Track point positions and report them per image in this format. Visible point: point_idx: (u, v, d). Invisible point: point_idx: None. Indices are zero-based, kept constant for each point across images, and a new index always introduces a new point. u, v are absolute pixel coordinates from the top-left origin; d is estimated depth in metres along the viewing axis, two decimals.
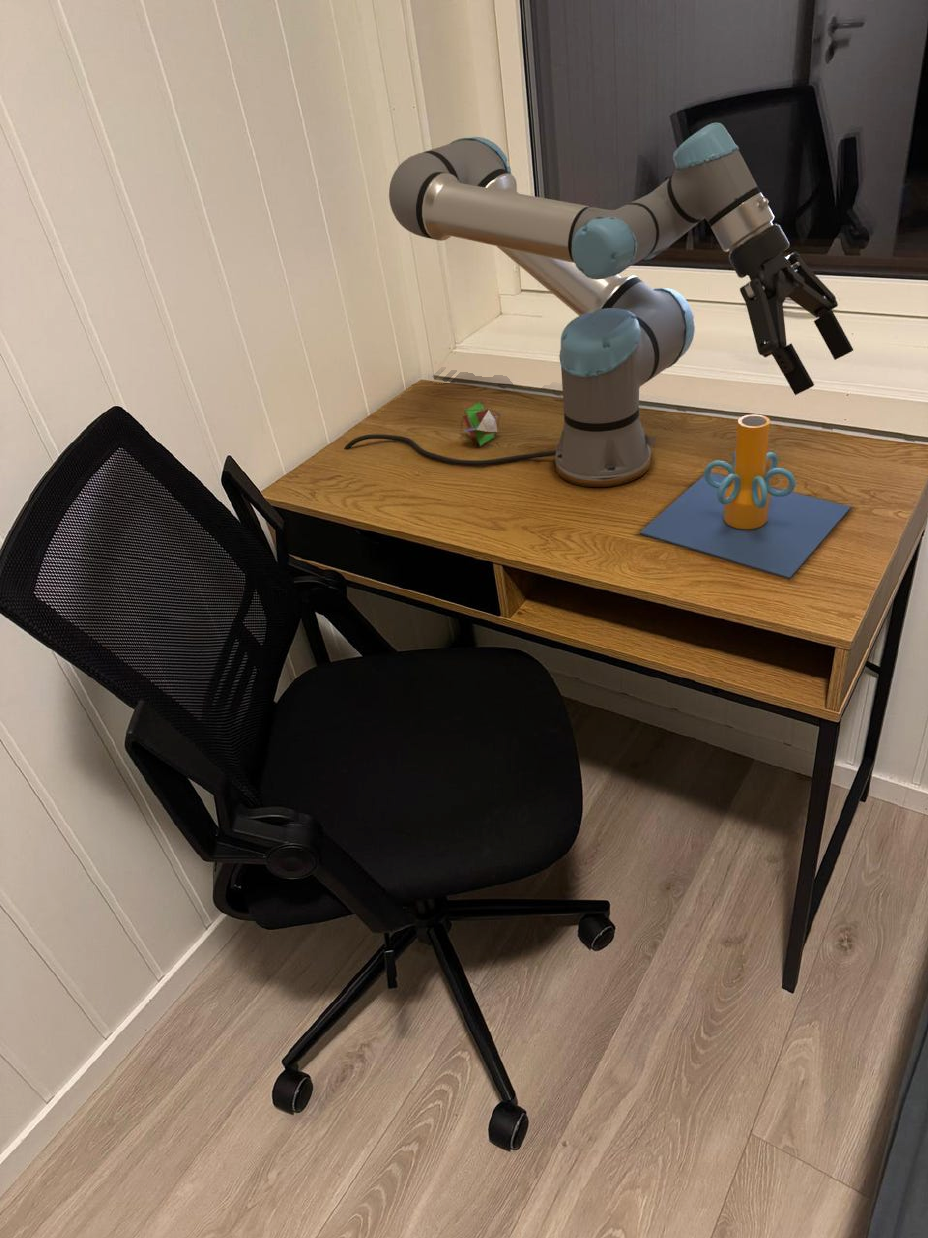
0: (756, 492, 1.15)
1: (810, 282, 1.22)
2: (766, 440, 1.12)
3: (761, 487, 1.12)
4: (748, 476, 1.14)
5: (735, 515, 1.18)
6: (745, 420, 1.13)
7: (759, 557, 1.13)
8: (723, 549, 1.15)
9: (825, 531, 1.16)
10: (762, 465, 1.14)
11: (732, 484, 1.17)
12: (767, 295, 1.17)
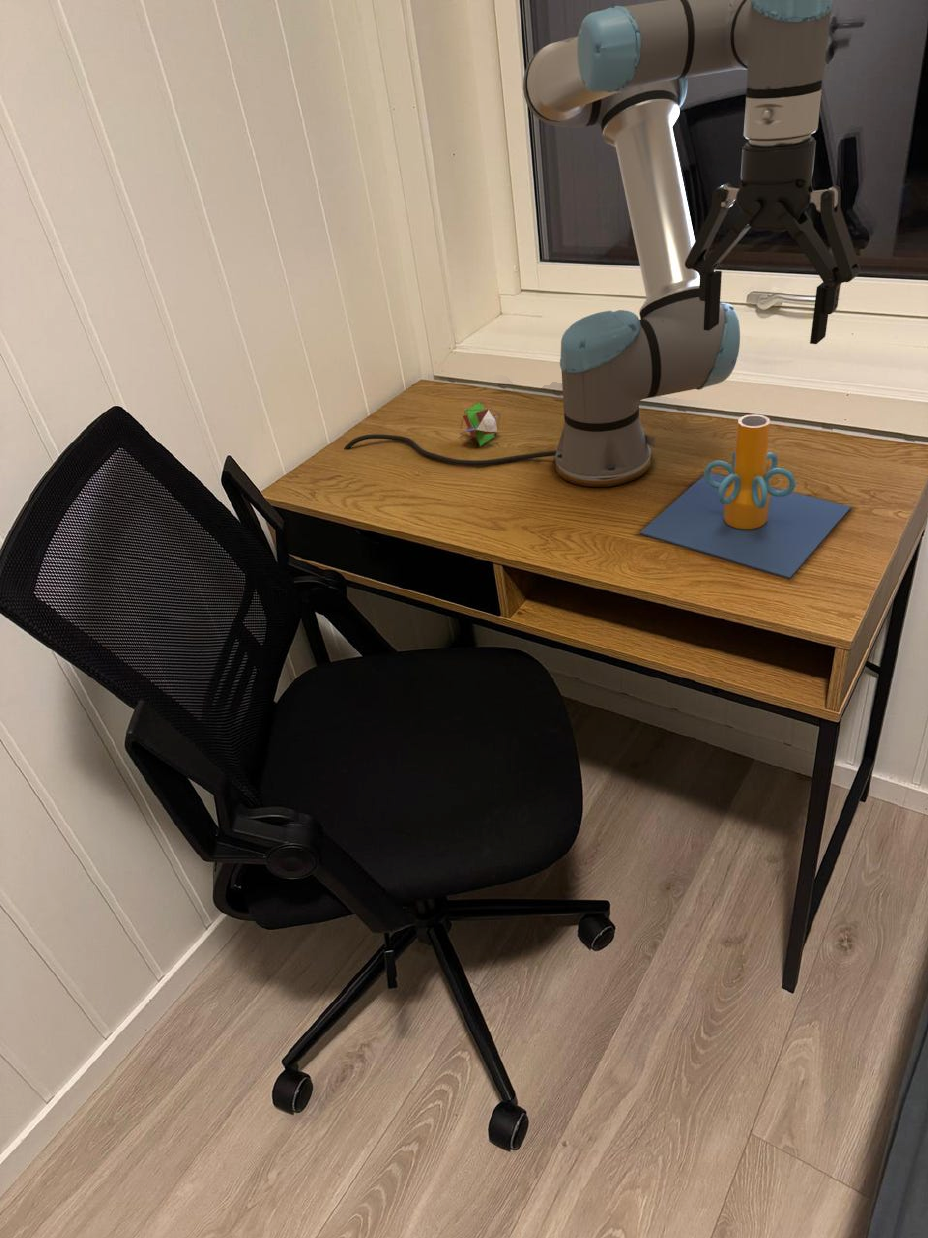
0: (756, 492, 1.15)
1: None
2: (766, 440, 1.12)
3: (761, 487, 1.12)
4: (748, 476, 1.14)
5: (735, 515, 1.18)
6: (745, 420, 1.13)
7: (759, 557, 1.13)
8: (723, 549, 1.15)
9: (825, 531, 1.16)
10: (762, 465, 1.14)
11: (732, 484, 1.17)
12: None
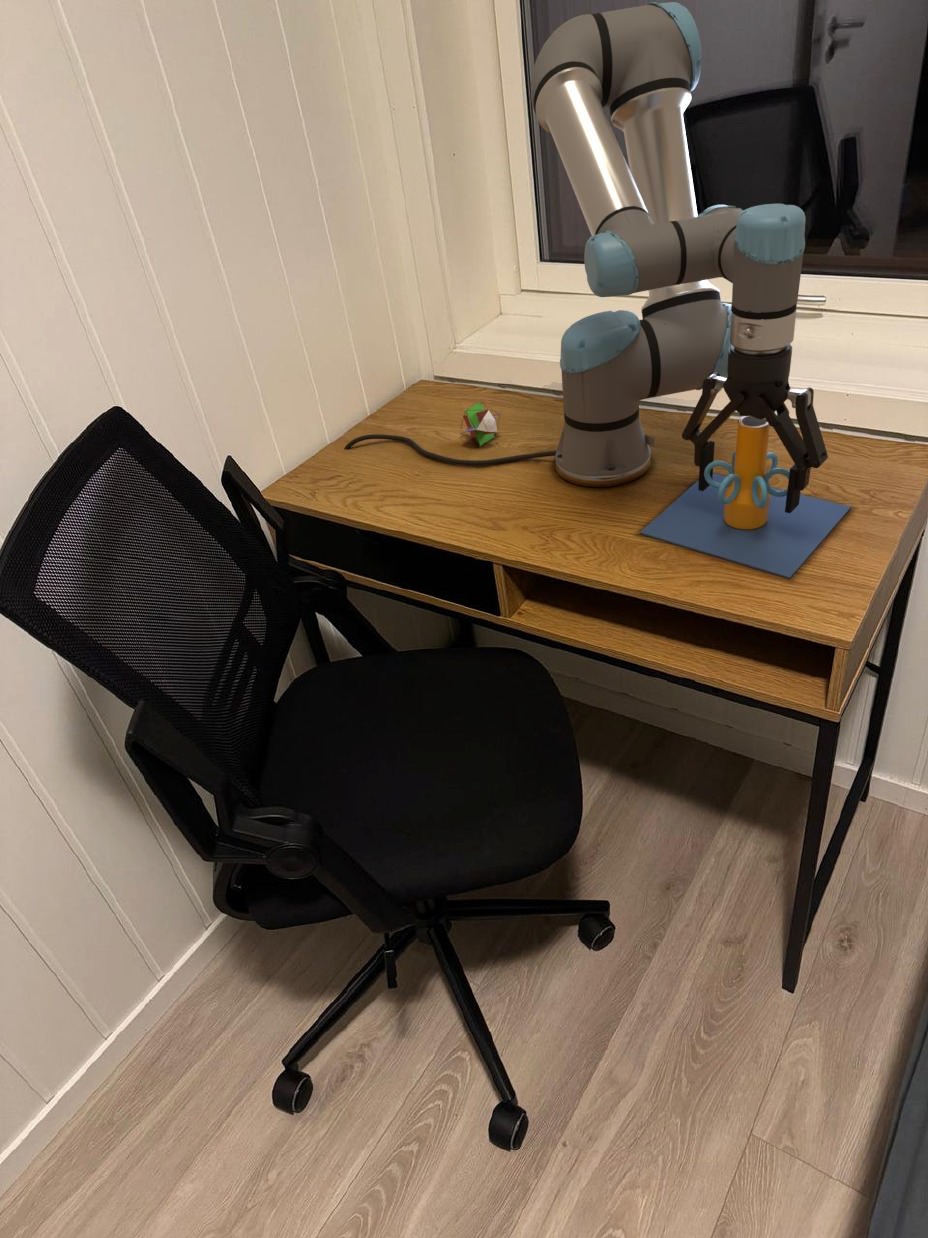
0: (756, 492, 1.15)
1: None
2: (766, 440, 1.12)
3: (761, 487, 1.12)
4: (748, 477, 1.14)
5: (735, 515, 1.18)
6: (745, 420, 1.13)
7: (759, 557, 1.13)
8: (723, 549, 1.15)
9: (825, 531, 1.16)
10: (762, 465, 1.14)
11: (732, 484, 1.17)
12: None
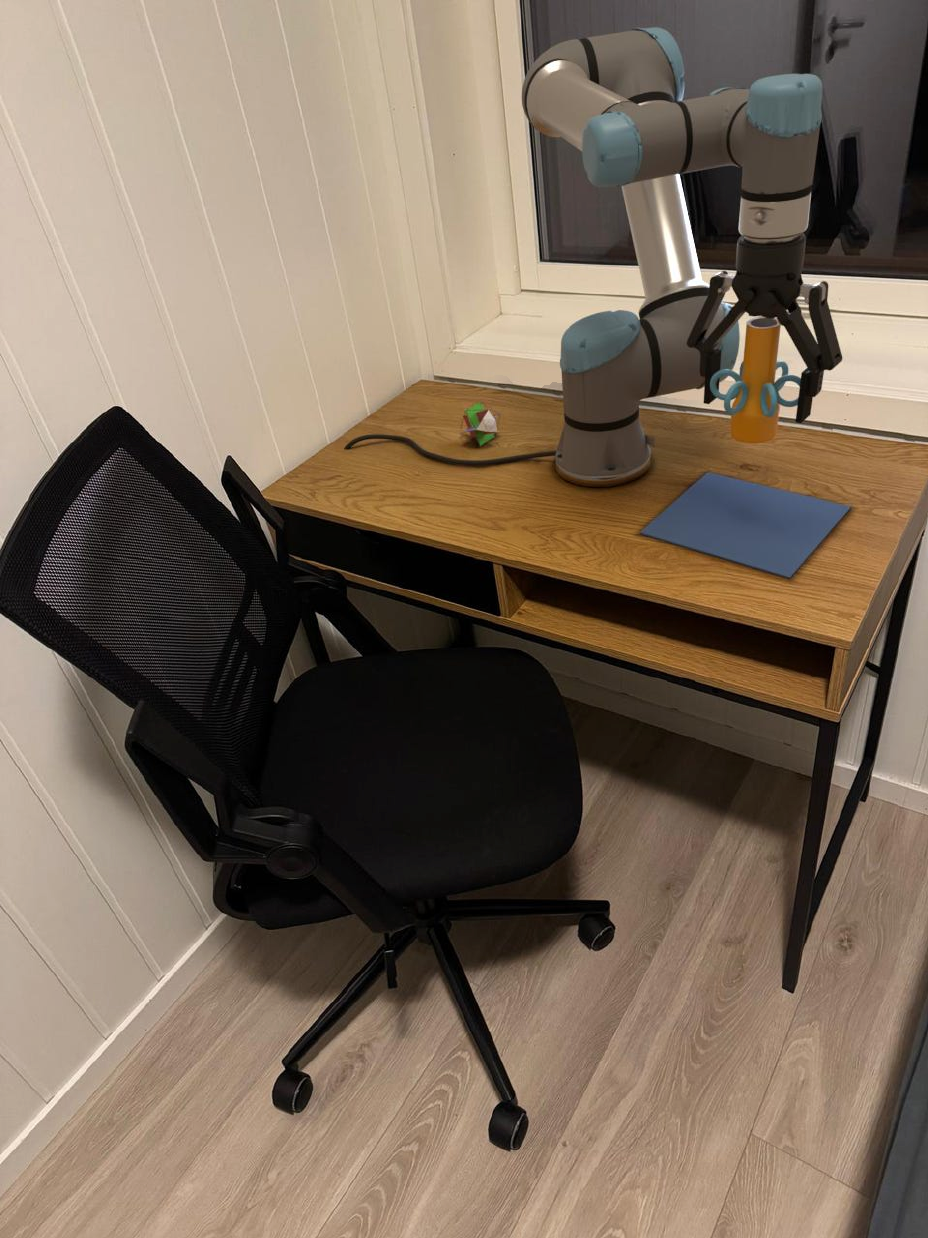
0: (765, 401, 1.08)
1: None
2: (776, 343, 1.05)
3: (770, 393, 1.05)
4: (757, 384, 1.07)
5: (742, 428, 1.11)
6: (754, 323, 1.06)
7: (759, 557, 1.13)
8: (723, 549, 1.15)
9: (825, 531, 1.16)
10: (772, 371, 1.07)
11: (739, 394, 1.10)
12: None
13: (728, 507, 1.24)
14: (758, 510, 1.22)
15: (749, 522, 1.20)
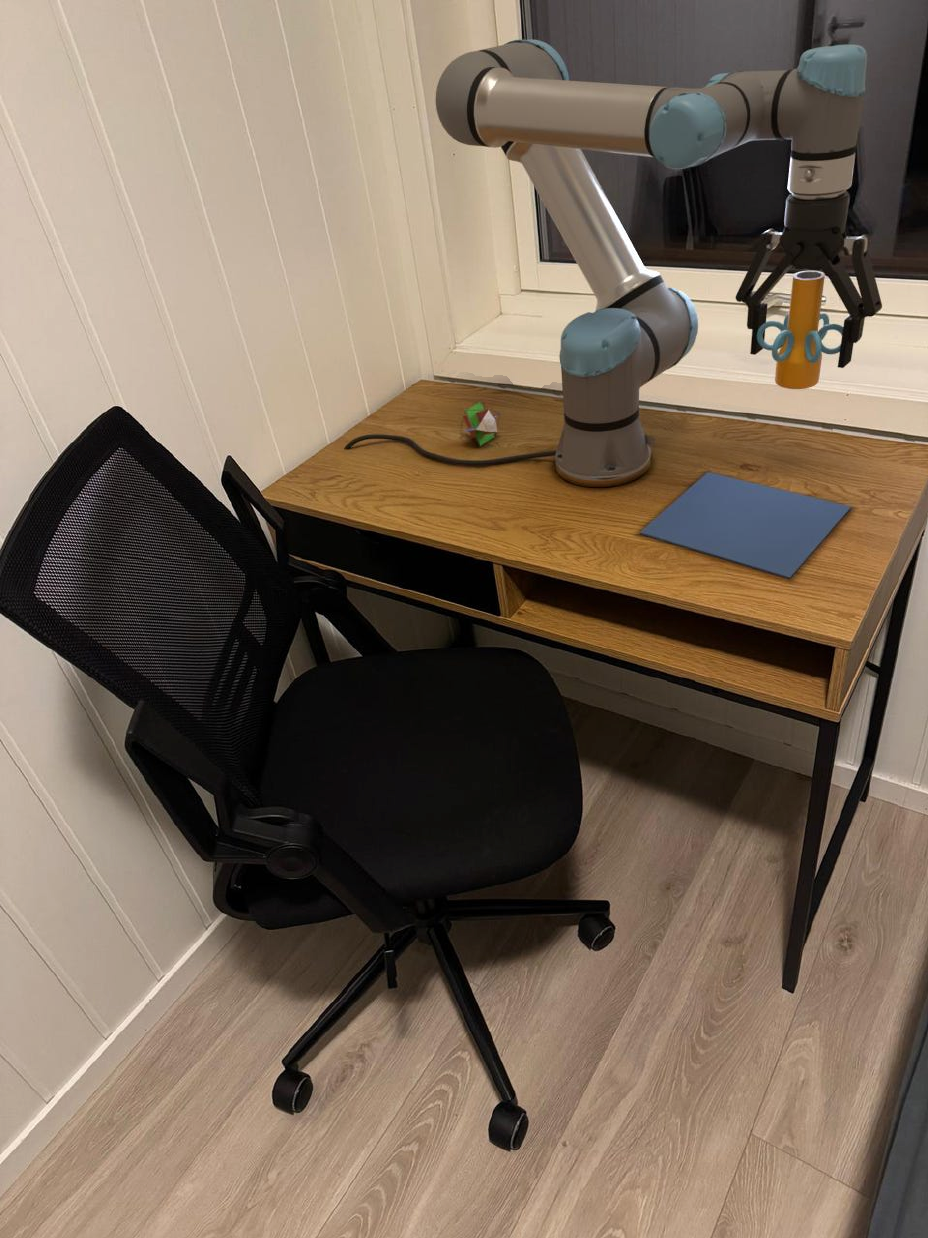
0: (809, 348, 1.18)
1: None
2: (820, 293, 1.15)
3: (815, 339, 1.14)
4: (802, 333, 1.17)
5: (787, 374, 1.21)
6: (800, 276, 1.16)
7: (759, 557, 1.13)
8: (723, 549, 1.15)
9: (825, 531, 1.16)
10: (816, 321, 1.17)
11: (785, 344, 1.20)
12: None
13: (728, 507, 1.24)
14: (758, 510, 1.22)
15: (749, 522, 1.20)
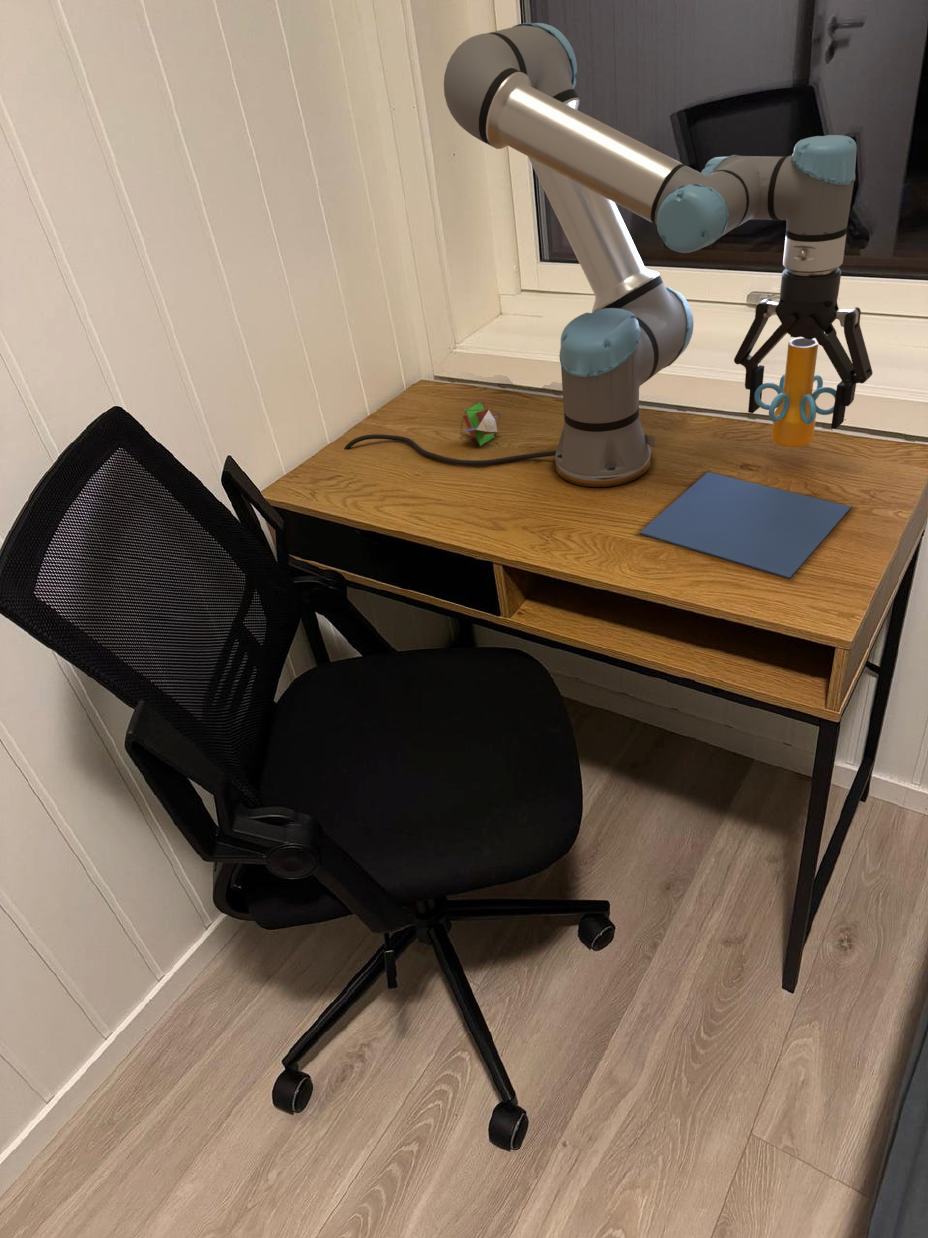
0: (804, 410, 1.24)
1: None
2: (814, 360, 1.21)
3: (810, 403, 1.21)
4: (797, 395, 1.24)
5: (784, 433, 1.27)
6: (794, 342, 1.22)
7: (759, 557, 1.13)
8: (723, 549, 1.15)
9: (825, 531, 1.16)
10: (810, 384, 1.23)
11: (781, 404, 1.27)
12: None
13: (728, 507, 1.24)
14: (758, 510, 1.22)
15: (749, 522, 1.20)
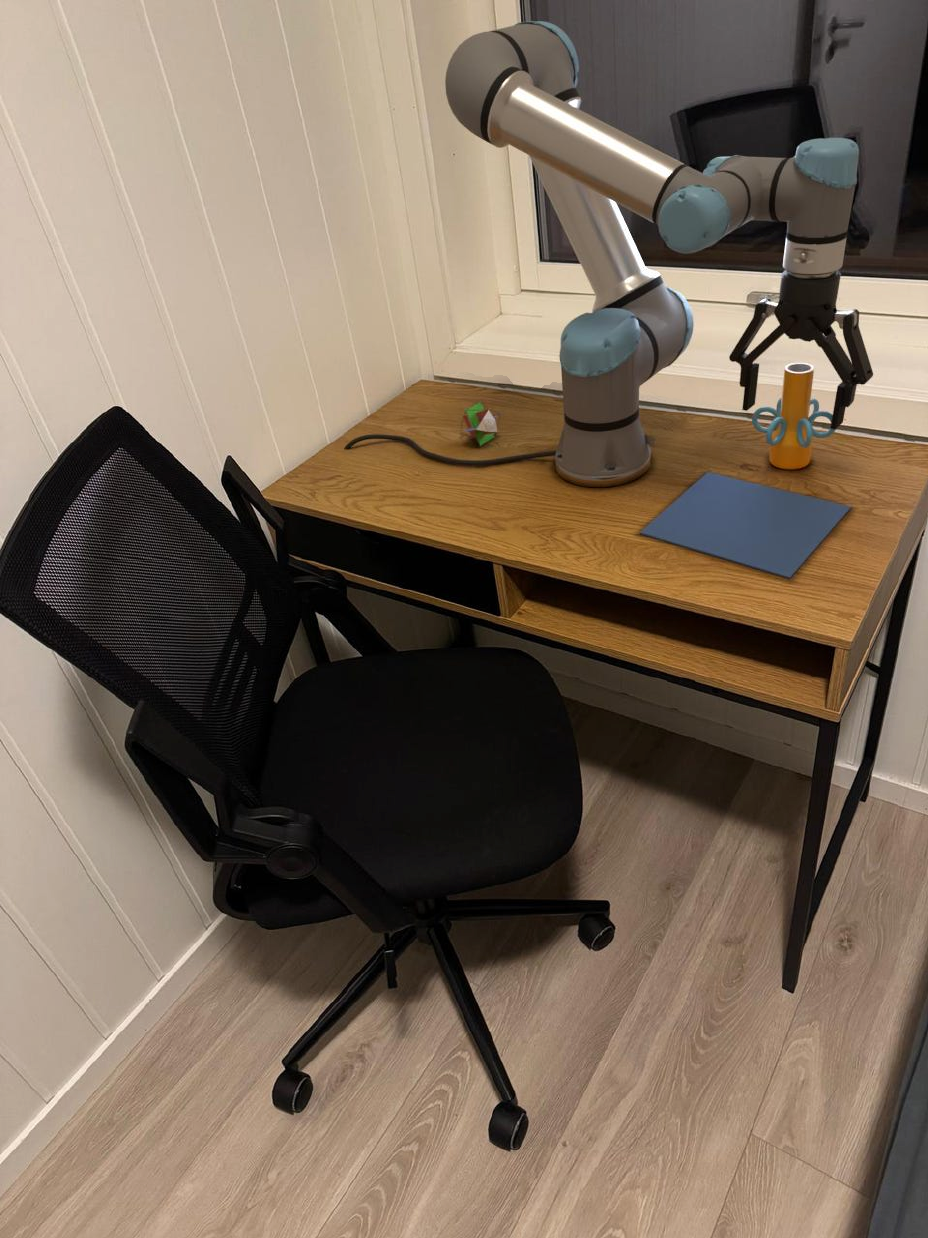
0: (801, 433, 1.27)
1: None
2: (810, 384, 1.24)
3: (806, 427, 1.23)
4: (794, 419, 1.26)
5: (781, 456, 1.30)
6: (791, 368, 1.25)
7: (759, 557, 1.13)
8: (723, 549, 1.15)
9: (825, 531, 1.16)
10: (806, 408, 1.26)
11: (778, 428, 1.29)
12: None
13: (728, 507, 1.24)
14: (758, 510, 1.22)
15: (749, 522, 1.20)
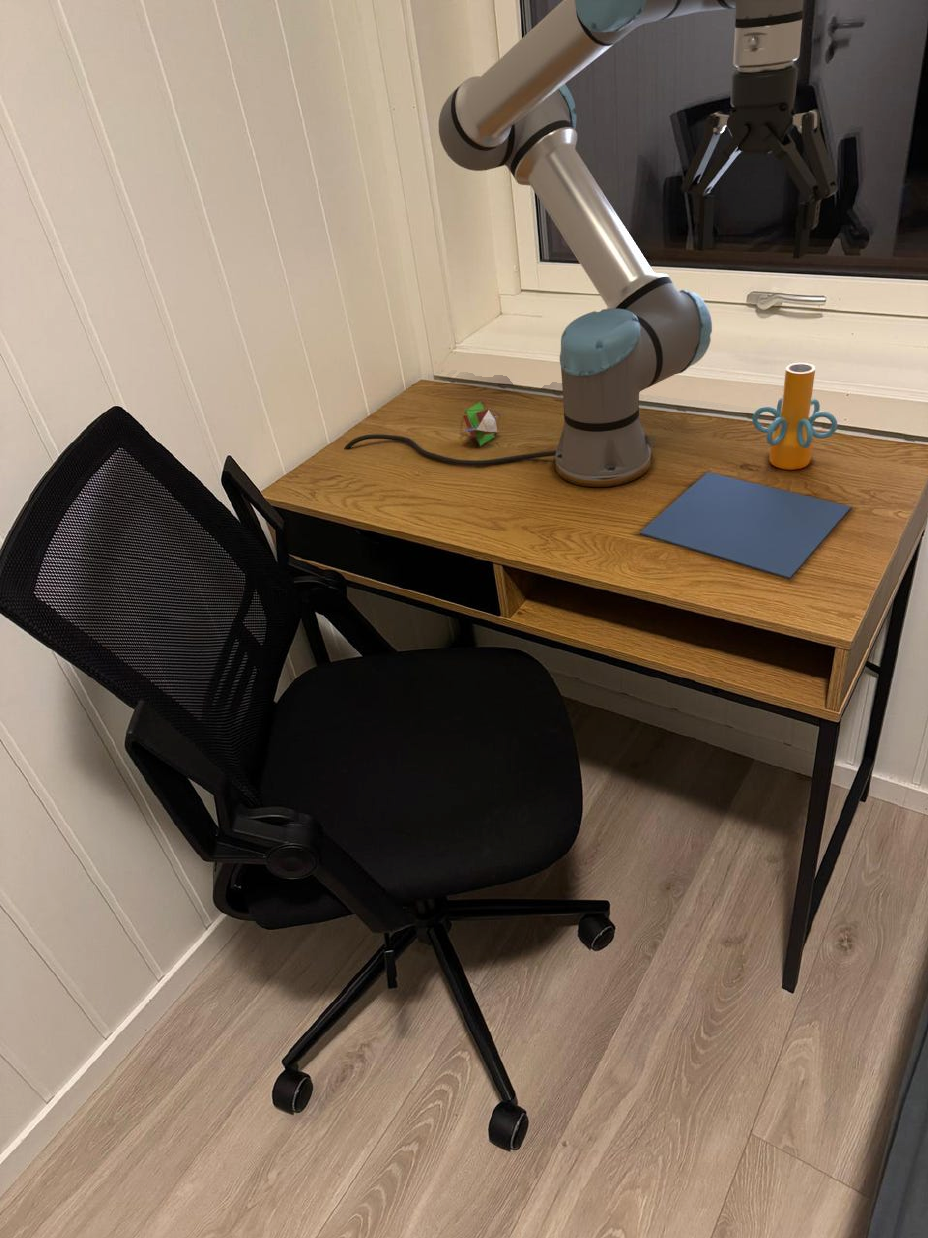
0: (801, 434, 1.27)
1: None
2: (811, 385, 1.24)
3: (807, 428, 1.23)
4: (794, 420, 1.26)
5: (781, 456, 1.30)
6: (792, 368, 1.25)
7: (759, 557, 1.13)
8: (723, 549, 1.15)
9: (825, 531, 1.16)
10: (807, 409, 1.26)
11: (778, 428, 1.29)
12: None
13: (728, 507, 1.24)
14: (758, 510, 1.22)
15: (749, 522, 1.20)
